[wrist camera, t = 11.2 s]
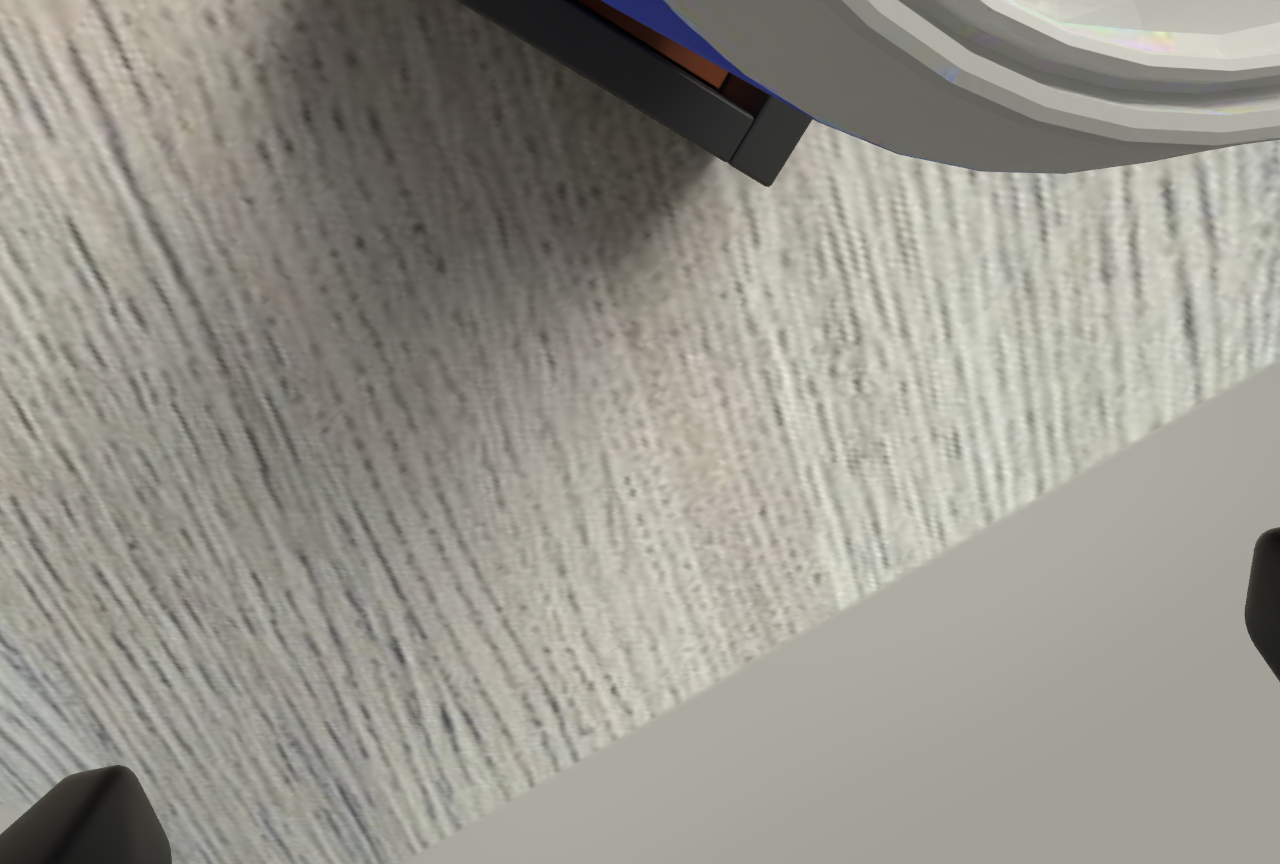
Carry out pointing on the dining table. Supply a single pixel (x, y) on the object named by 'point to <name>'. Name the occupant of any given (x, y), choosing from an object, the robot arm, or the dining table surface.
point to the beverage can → (1003, 73)
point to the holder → (658, 79)
